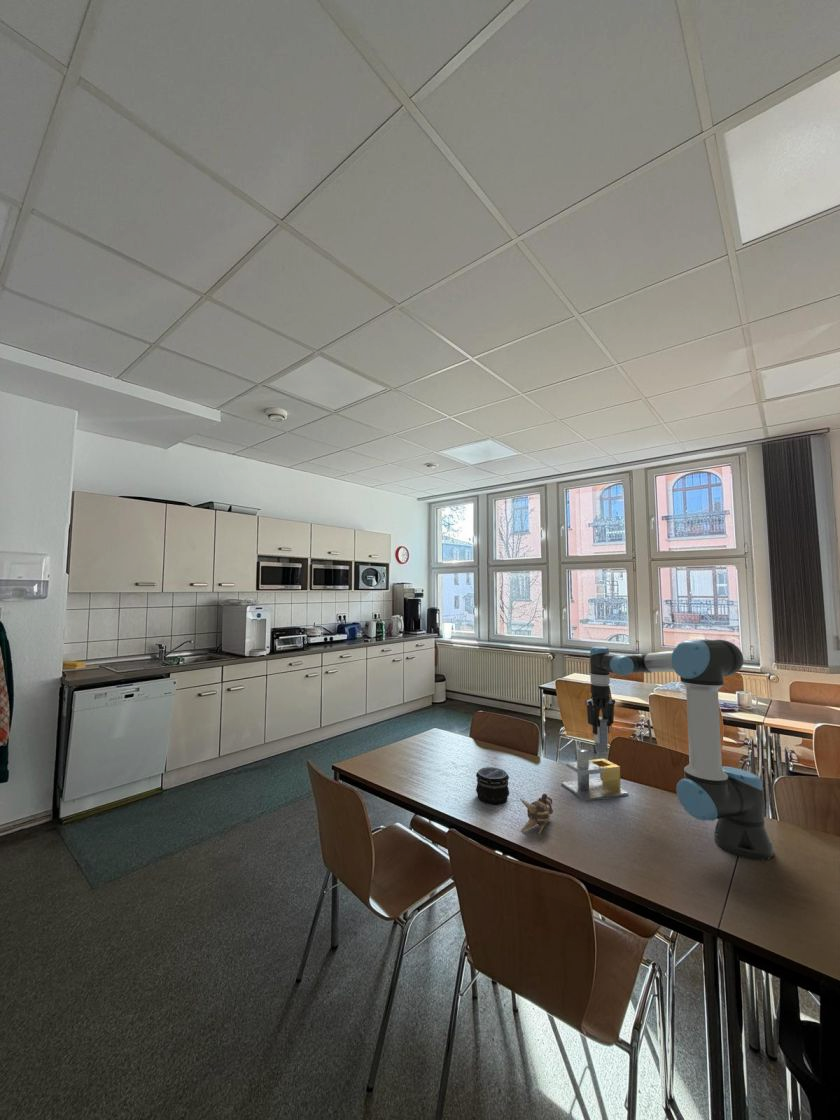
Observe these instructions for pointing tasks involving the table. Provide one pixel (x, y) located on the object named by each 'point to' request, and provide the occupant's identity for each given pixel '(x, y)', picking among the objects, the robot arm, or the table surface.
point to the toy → (538, 812)
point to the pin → (602, 735)
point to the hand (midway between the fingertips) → (601, 741)
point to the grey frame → (594, 787)
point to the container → (492, 786)
